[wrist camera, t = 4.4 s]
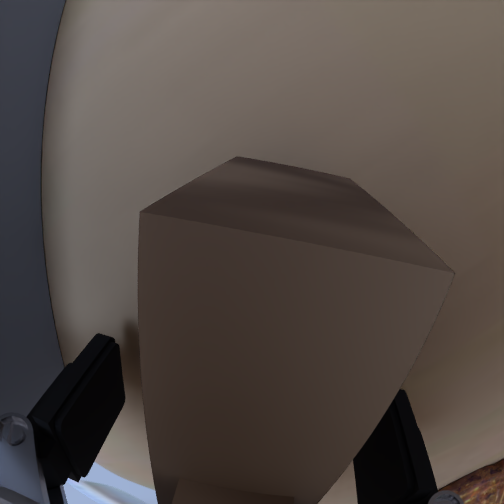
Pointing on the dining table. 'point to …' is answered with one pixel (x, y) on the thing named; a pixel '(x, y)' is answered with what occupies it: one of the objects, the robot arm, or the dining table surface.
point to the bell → (481, 485)
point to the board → (24, 205)
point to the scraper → (273, 330)
